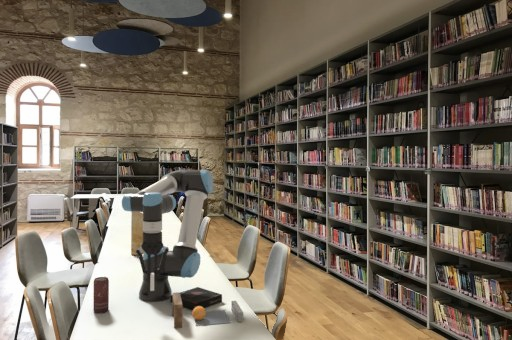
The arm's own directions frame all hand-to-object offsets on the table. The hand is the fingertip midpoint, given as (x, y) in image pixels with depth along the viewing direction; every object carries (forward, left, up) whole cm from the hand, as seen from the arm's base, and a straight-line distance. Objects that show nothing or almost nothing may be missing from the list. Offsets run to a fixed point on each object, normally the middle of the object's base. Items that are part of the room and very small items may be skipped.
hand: (152, 289), depth 166 cm
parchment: (-112, -5, -14) cm, 113 cm away
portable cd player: (-20, +20, -14) cm, 31 cm away
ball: (+1, +19, -11) cm, 22 cm away
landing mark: (0, +24, -13) cm, 27 cm away
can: (-18, -21, -14) cm, 31 cm away
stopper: (0, +35, -13) cm, 37 cm away
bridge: (0, +10, -13) cm, 17 cm away
